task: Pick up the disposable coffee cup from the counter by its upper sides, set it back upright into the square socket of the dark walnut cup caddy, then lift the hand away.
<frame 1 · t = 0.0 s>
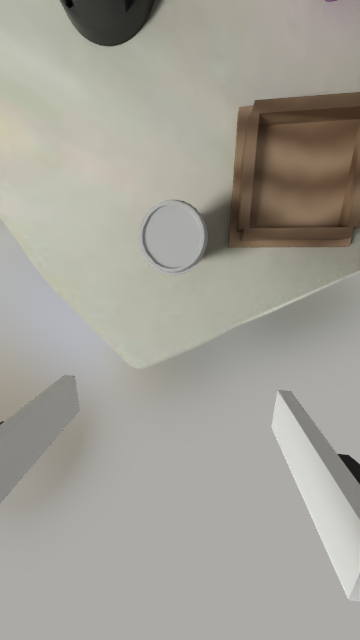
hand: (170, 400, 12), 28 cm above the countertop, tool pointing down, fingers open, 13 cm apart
disposable coffee cup: (180, 247, 36), on the countertop
cup caddy: (294, 183, 32), on the countertop
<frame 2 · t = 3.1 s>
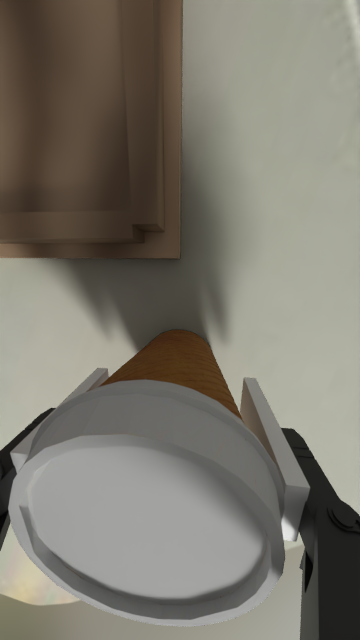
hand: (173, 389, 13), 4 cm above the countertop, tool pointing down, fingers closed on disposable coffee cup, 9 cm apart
disposable coffee cup: (179, 361, 18), on the countertop, touching gripper
cup caddy: (40, 108, 13), on the countertop
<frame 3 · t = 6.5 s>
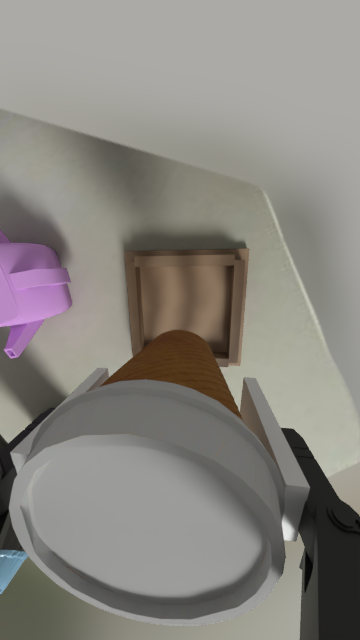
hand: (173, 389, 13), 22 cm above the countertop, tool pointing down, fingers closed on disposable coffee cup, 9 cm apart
disposable coffee cup: (179, 361, 18), point 17 cm above the countertop, touching gripper
cup caddy: (185, 309, 34), on the countertop
teakettle: (34, 287, 36), on the countertop
when the fingers open (7 cm above the countertop, at t = 9.9 s): disposable coffee cup drops 1 cm, resting on cup caddy.
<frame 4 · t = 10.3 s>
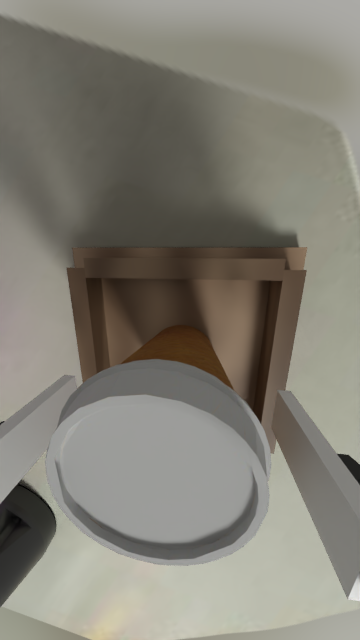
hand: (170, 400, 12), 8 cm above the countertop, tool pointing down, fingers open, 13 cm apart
disposable coffee cup: (181, 354, 19), point 1 cm above the countertop, touching cup caddy
cup caddy: (182, 350, 20), on the countertop
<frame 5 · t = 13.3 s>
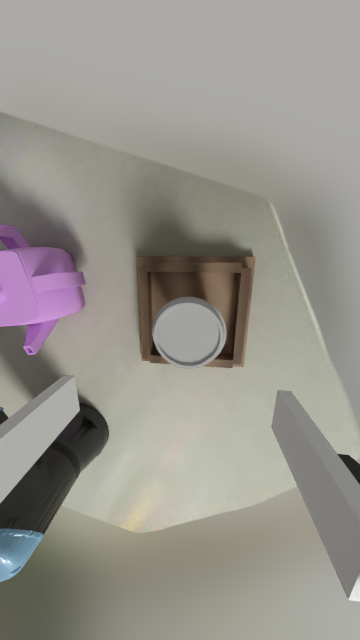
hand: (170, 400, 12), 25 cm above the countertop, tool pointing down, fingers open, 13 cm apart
disposable coffee cup: (192, 313, 35), point 1 cm above the countertop, touching cup caddy
cup caddy: (192, 312, 36), on the countertop
teakettle: (49, 287, 38), on the countertop
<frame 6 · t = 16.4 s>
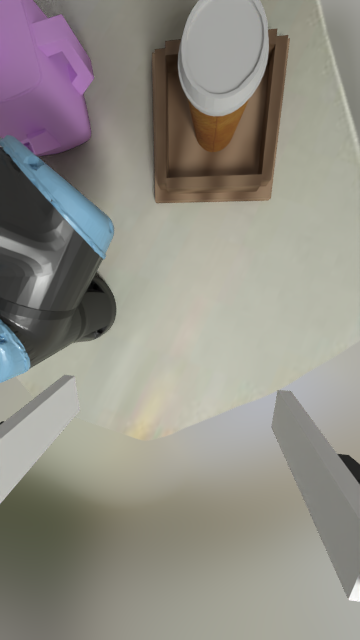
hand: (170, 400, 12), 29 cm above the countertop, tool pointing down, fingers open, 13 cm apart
disposable coffee cup: (214, 130, 31), point 1 cm above the countertop, touching cup caddy
cup caddy: (214, 134, 32), on the countertop
teakettle: (50, 117, 34), on the countertop
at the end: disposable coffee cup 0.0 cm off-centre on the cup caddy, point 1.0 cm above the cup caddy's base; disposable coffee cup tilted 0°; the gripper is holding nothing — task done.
